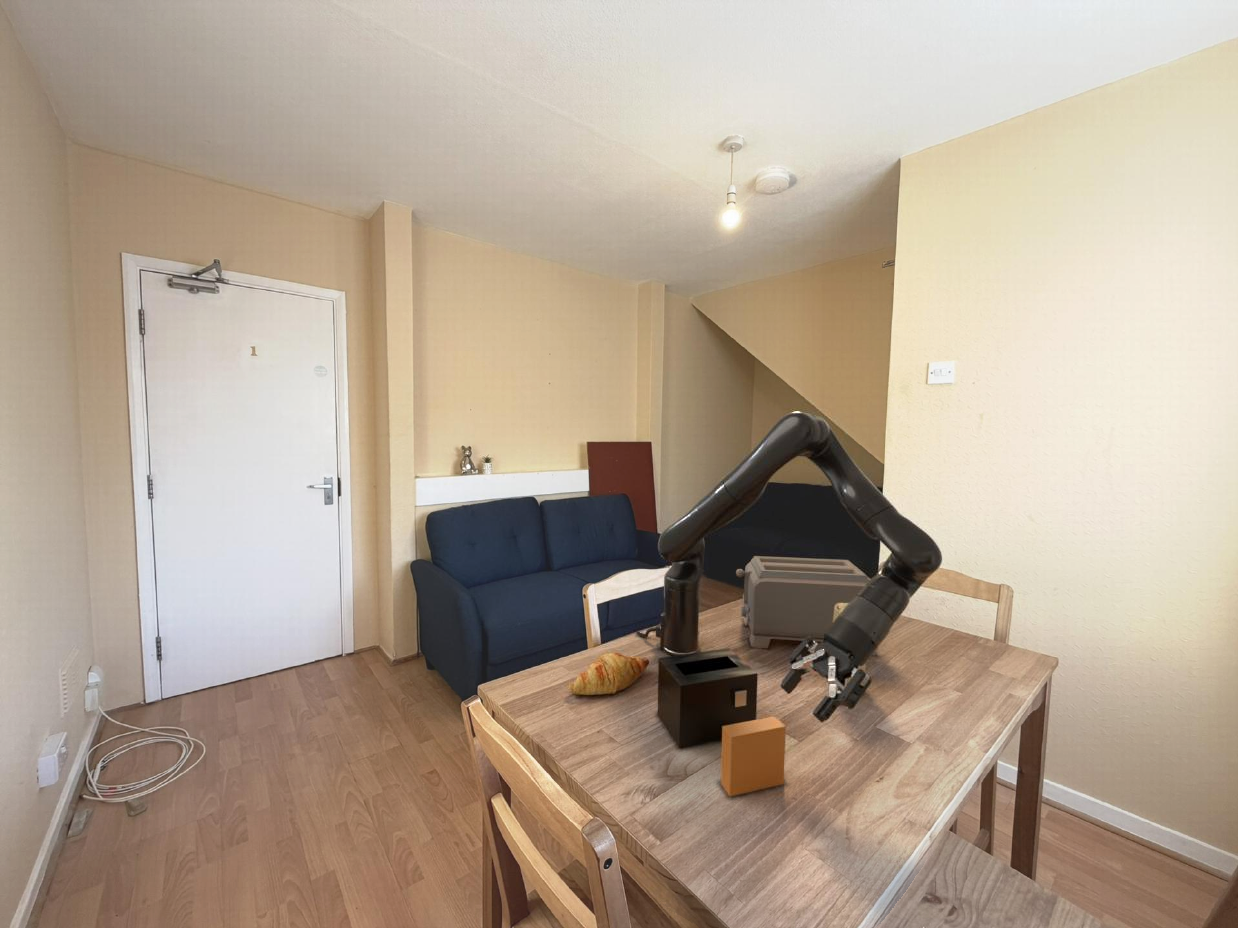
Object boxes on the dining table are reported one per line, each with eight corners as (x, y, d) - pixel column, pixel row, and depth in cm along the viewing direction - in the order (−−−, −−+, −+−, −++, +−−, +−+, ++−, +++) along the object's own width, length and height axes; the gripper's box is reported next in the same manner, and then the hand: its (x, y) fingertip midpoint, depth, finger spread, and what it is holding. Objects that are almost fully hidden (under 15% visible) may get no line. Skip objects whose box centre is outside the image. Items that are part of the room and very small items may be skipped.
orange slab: (720, 783, 80) (722, 725, 79) (773, 771, 83) (774, 715, 82) (729, 796, 77) (731, 737, 76) (783, 783, 80) (785, 726, 79)
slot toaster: (657, 714, 99) (658, 657, 98) (727, 701, 104) (728, 647, 103) (681, 751, 88) (682, 687, 87) (758, 735, 93) (760, 675, 92)
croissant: (576, 718, 103) (584, 695, 99) (556, 679, 110) (563, 656, 106) (654, 686, 115) (664, 664, 111) (631, 653, 122) (640, 631, 118)
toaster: (731, 618, 149) (733, 553, 148) (851, 625, 144) (854, 558, 143) (737, 646, 130) (739, 571, 129) (876, 655, 125) (880, 578, 124)
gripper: (818, 602, 90) (762, 670, 88) (880, 633, 76) (816, 715, 74) (840, 626, 92) (786, 694, 89) (904, 661, 78) (843, 742, 76)
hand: (800, 703), depth 82 cm, fingers open, 8 cm apart
